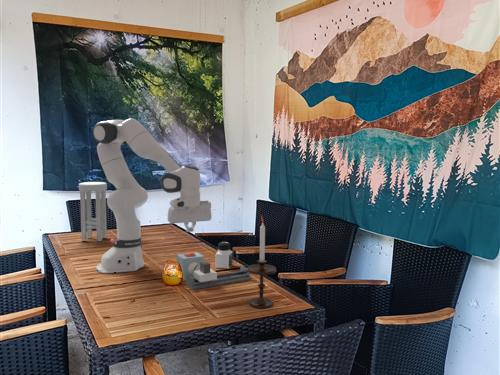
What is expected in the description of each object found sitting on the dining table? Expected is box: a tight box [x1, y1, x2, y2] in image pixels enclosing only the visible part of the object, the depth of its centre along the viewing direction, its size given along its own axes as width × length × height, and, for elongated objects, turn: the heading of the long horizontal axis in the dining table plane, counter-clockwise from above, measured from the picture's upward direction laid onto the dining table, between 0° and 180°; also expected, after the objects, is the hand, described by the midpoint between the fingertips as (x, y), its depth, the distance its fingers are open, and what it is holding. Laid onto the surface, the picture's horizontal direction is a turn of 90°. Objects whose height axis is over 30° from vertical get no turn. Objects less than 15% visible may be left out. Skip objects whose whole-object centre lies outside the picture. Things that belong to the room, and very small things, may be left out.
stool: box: [78, 181, 108, 242], centre depth 268 cm, size 16×16×35 cm
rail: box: [185, 265, 251, 291], centre depth 195 cm, size 28×8×4 cm, turn 120°
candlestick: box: [247, 214, 277, 310], centre depth 168 cm, size 11×11×35 cm
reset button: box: [185, 251, 195, 257], centre depth 201 cm, size 4×4×4 cm
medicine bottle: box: [214, 241, 234, 270], centre depth 218 cm, size 7×7×12 cm
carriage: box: [193, 260, 218, 282], centre depth 191 cm, size 8×7×7 cm
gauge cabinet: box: [176, 251, 205, 282], centre depth 201 cm, size 10×9×10 cm
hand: (189, 231), depth 200 cm, fingers closed
